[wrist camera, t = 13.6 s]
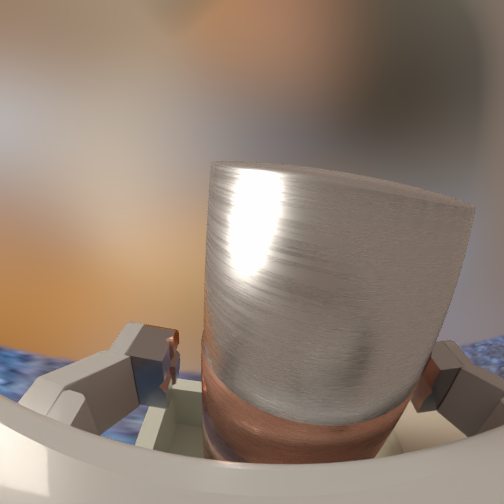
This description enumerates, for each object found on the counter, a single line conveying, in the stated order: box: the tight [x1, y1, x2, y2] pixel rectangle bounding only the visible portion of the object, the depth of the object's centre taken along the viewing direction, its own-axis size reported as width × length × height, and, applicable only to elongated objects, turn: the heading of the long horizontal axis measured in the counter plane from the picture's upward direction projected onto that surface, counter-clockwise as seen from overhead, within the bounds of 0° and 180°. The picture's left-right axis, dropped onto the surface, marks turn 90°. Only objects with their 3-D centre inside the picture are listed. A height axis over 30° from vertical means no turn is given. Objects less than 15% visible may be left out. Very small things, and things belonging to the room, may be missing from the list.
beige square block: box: [375, 400, 468, 458], centre depth 10 cm, size 8×8×4 cm
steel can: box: [201, 161, 476, 464], centre depth 8 cm, size 6×6×14 cm
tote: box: [135, 379, 204, 458], centre depth 10 cm, size 21×11×4 cm, turn 89°
